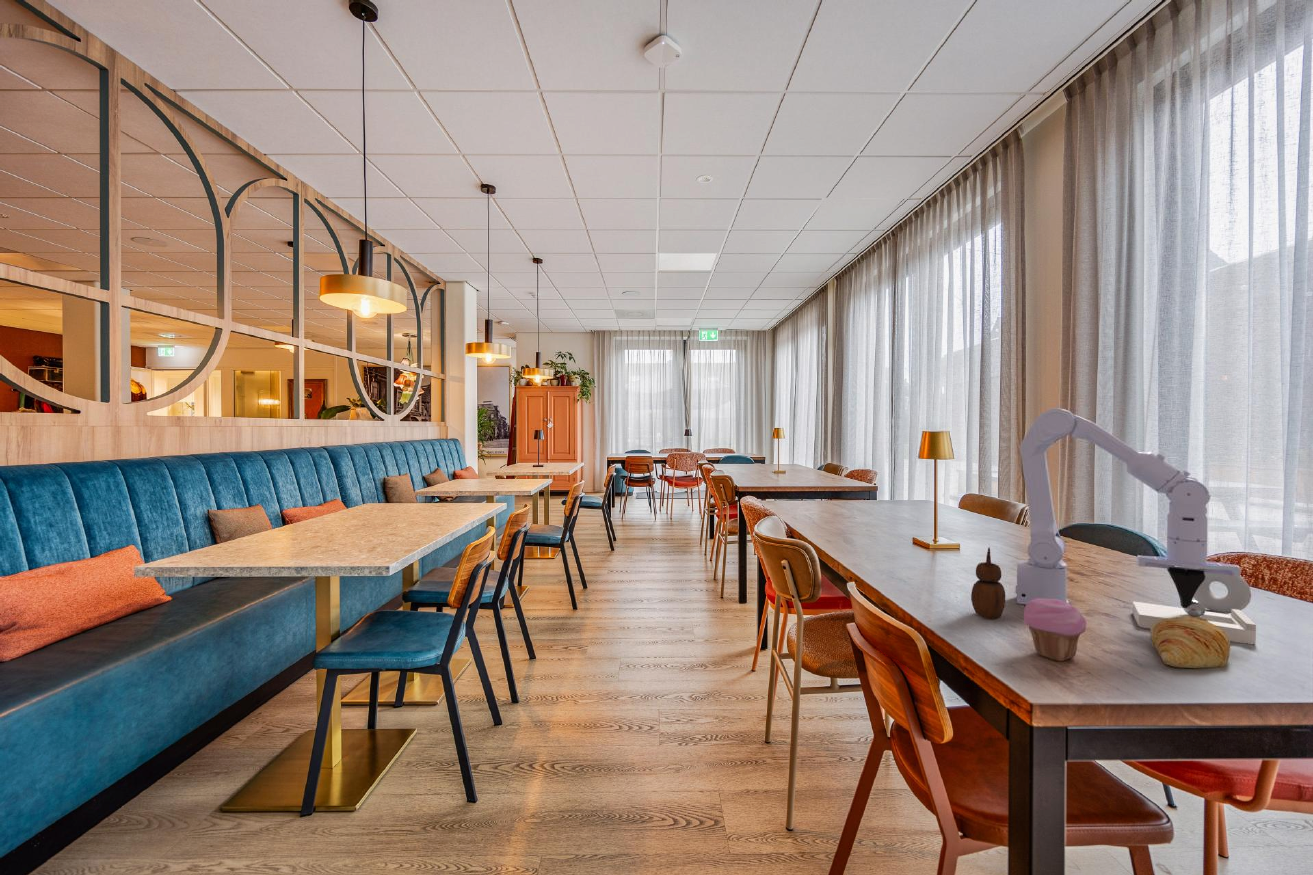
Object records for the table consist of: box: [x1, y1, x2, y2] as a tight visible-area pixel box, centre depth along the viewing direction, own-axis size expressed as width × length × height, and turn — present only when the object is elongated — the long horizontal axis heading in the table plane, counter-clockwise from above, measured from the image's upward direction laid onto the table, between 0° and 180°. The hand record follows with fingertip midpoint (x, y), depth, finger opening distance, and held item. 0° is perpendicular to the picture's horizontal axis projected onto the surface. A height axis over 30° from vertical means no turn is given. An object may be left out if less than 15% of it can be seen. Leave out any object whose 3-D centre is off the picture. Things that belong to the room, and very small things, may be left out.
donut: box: [1193, 573, 1252, 615], centre depth 117 cm, size 10×4×10 cm, turn 20°
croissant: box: [1149, 617, 1231, 669], centre depth 95 cm, size 21×10×8 cm, turn 124°
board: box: [1132, 601, 1257, 646], centre depth 108 cm, size 16×10×4 cm, turn 54°
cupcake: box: [1023, 598, 1087, 662], centre depth 95 cm, size 9×9×10 cm
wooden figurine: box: [970, 546, 1006, 620], centre depth 115 cm, size 7×6×15 cm
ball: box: [1182, 599, 1207, 617], centre depth 108 cm, size 3×3×3 cm
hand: (1186, 606), depth 108 cm, fingers closed, pressing on ball
